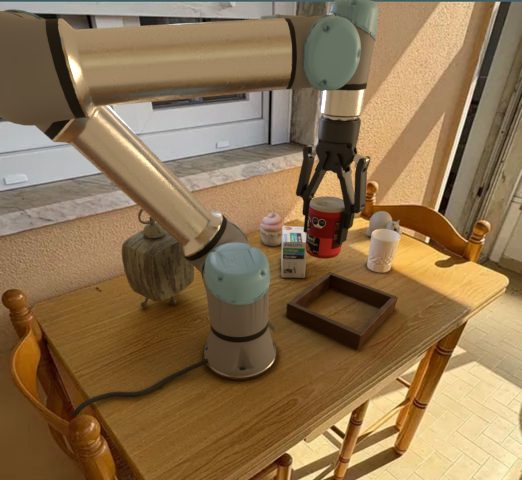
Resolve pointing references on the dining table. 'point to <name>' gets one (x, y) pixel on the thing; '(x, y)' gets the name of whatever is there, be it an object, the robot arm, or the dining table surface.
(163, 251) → the tabletop clock
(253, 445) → the dining table surface
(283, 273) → the light bulb box
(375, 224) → the grey animal figurine
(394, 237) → the white cup
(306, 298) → the crate
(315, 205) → the canned food
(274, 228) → the cupcake
